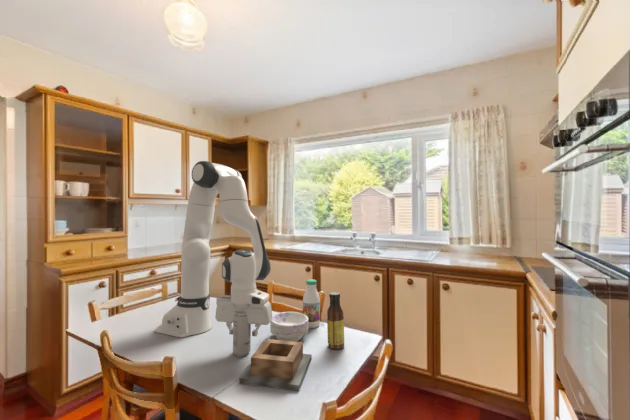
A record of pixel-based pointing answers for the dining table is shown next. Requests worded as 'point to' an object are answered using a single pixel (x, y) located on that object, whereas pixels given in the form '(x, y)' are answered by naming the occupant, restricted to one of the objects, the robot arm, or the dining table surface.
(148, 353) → the dining table surface
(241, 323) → the energy drink can
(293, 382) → the socket holder
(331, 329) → the sauce bottle
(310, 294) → the milk bottle
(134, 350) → the dining table surface
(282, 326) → the paper bowls
